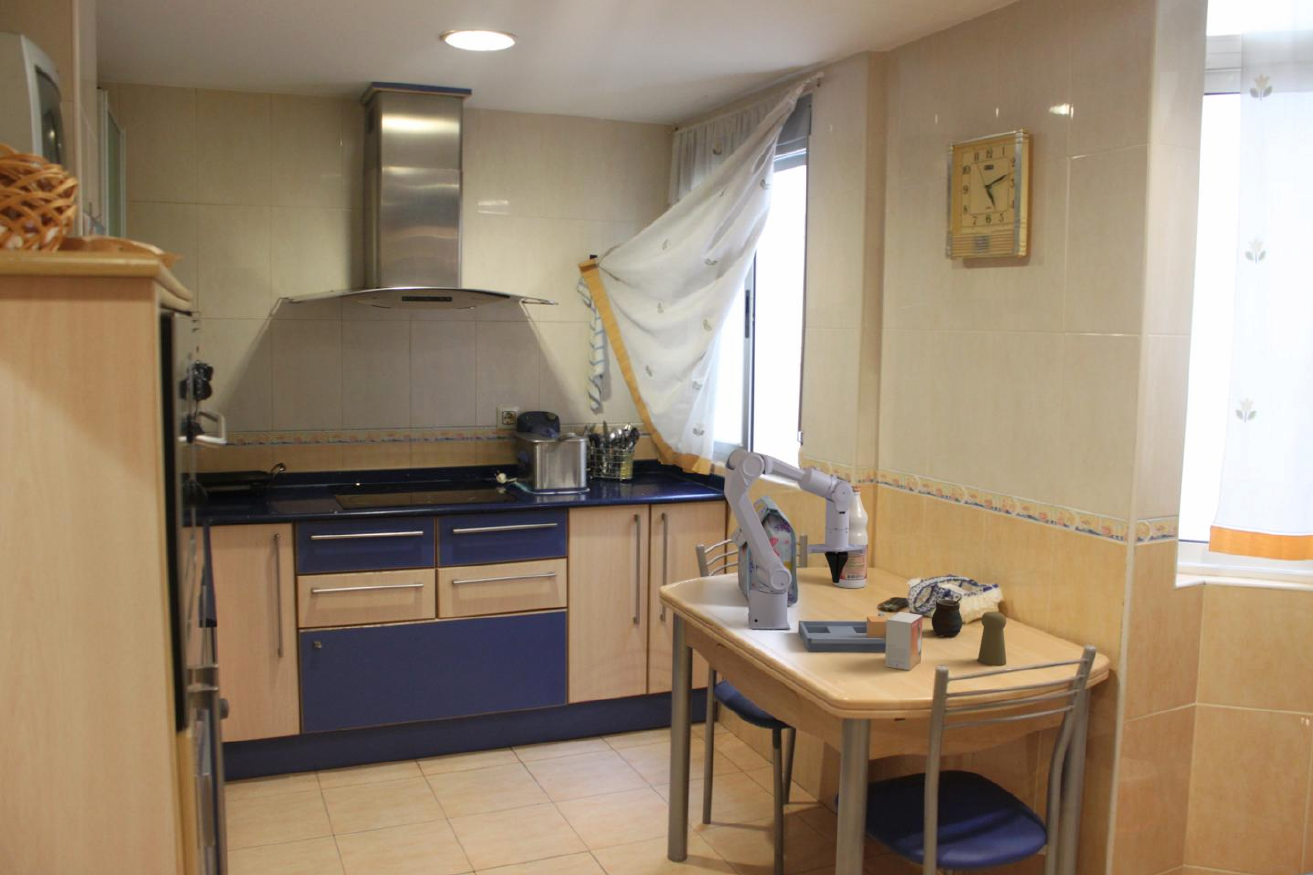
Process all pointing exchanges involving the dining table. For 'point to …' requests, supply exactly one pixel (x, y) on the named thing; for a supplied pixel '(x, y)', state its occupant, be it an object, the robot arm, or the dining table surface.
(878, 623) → the block
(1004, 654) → the olive green pepper mill
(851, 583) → the fruit juice
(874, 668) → the dining table surface
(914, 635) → the small box
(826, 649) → the tray
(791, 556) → the lunch bag
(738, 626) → the dining table surface
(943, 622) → the mate gourd
